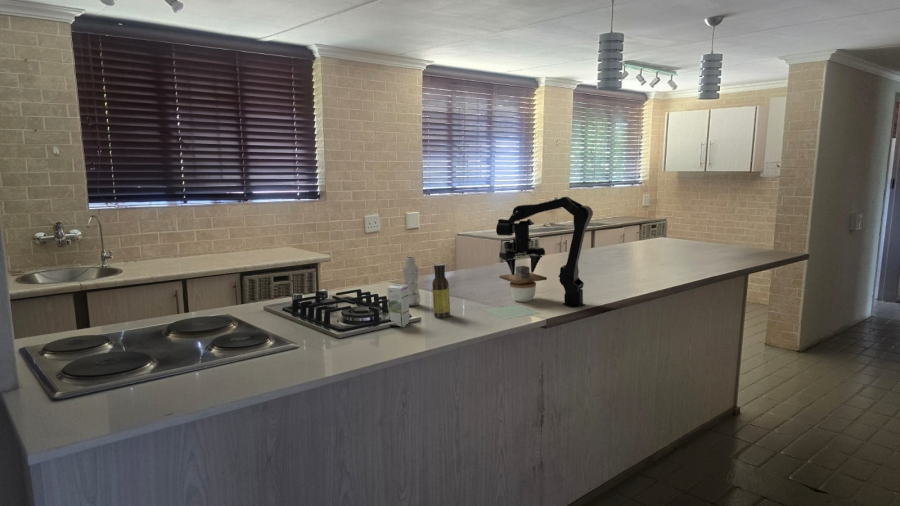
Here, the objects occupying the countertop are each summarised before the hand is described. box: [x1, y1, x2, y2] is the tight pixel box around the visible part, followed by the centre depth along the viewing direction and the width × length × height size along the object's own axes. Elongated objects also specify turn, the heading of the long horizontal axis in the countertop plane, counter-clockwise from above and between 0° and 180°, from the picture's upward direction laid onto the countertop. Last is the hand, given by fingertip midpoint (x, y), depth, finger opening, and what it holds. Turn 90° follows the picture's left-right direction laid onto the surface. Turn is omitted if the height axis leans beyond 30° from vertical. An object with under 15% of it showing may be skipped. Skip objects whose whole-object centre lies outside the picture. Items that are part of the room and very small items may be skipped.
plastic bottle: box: [402, 256, 421, 307], centre depth 236 cm, size 6×7×20 cm
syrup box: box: [386, 284, 411, 328], centre depth 207 cm, size 6×6×14 cm
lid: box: [499, 265, 548, 284], centre depth 237 cm, size 14×14×5 cm
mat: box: [483, 304, 540, 320], centre depth 220 cm, size 16×16×1 cm
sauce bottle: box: [431, 263, 451, 319], centre depth 217 cm, size 6×6×20 cm
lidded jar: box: [509, 281, 537, 303], centre depth 238 cm, size 11×11×9 cm
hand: (522, 273), depth 237 cm, fingers open, 9 cm apart
